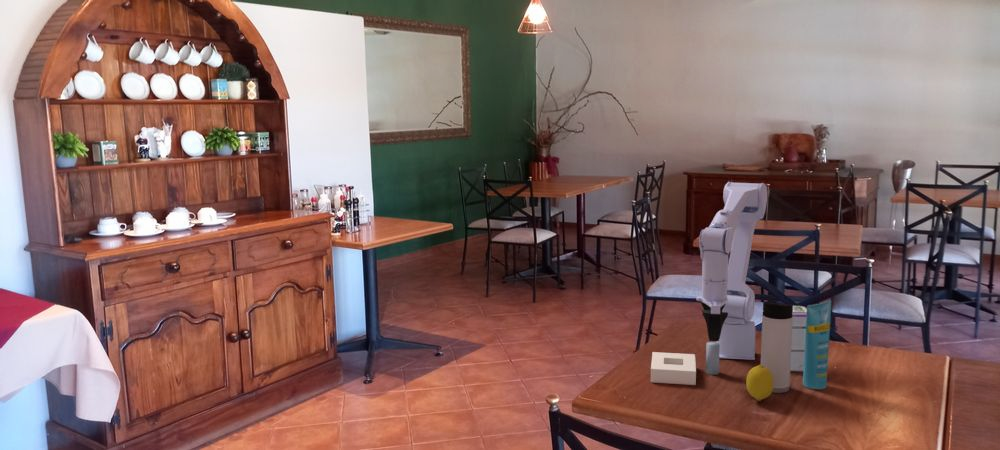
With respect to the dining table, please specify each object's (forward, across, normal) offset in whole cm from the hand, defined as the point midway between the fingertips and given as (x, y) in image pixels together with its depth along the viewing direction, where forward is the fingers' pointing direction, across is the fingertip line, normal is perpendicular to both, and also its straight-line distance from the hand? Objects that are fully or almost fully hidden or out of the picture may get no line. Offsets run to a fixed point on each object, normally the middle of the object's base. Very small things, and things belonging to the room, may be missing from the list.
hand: (713, 335), depth 179 cm
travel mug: (+9, +8, +13) cm, 18 cm away
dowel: (+9, 0, 0) cm, 9 cm away
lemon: (+9, +16, +9) cm, 21 cm away
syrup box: (+9, -7, +19) cm, 22 cm away
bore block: (+9, +3, -9) cm, 13 cm away
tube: (+9, +5, +22) cm, 24 cm away
